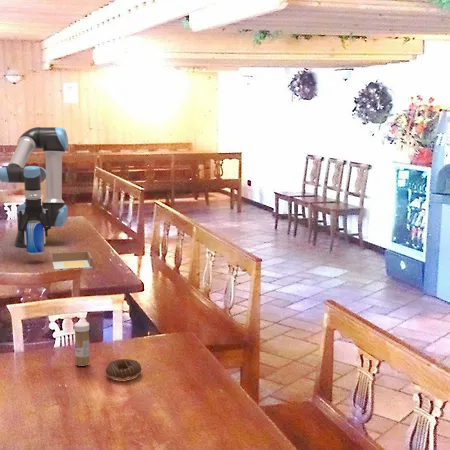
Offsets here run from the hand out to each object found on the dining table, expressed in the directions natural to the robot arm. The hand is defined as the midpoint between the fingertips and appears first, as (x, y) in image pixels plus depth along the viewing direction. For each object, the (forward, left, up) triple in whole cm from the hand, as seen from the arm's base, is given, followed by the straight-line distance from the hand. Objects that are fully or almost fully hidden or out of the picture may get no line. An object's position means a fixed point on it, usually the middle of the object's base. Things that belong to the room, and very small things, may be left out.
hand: (35, 243), depth 318 cm
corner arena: (+10, +17, -10) cm, 22 cm away
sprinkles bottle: (+132, +10, -10) cm, 132 cm away
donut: (+143, +21, -10) cm, 144 cm away
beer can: (0, 0, -5) cm, 5 cm away
